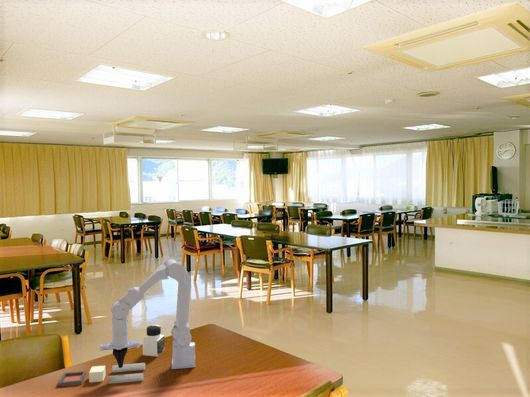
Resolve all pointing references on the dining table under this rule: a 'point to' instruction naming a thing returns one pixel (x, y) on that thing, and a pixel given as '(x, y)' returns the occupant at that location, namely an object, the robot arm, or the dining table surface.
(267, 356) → the dining table surface
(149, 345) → the medicine bottle
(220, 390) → the dining table surface
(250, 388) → the dining table surface
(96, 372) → the block
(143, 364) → the channel
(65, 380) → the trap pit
